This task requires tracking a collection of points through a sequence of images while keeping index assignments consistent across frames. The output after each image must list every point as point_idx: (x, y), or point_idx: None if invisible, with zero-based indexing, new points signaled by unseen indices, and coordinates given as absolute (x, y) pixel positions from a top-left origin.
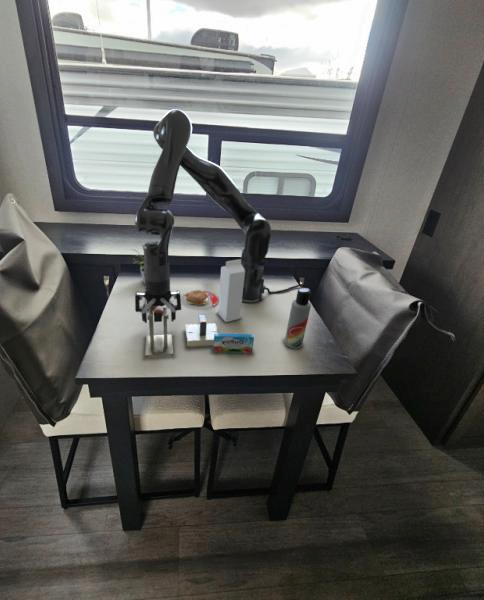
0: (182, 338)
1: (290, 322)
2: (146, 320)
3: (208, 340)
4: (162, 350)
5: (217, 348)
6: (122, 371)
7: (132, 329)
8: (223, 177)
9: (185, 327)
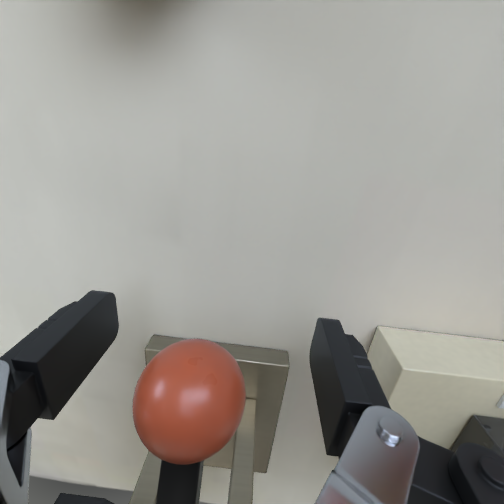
0: None
1: None
2: (103, 353)
3: None
4: (224, 452)
5: None
6: (87, 469)
7: (57, 236)
8: None
9: (391, 369)
